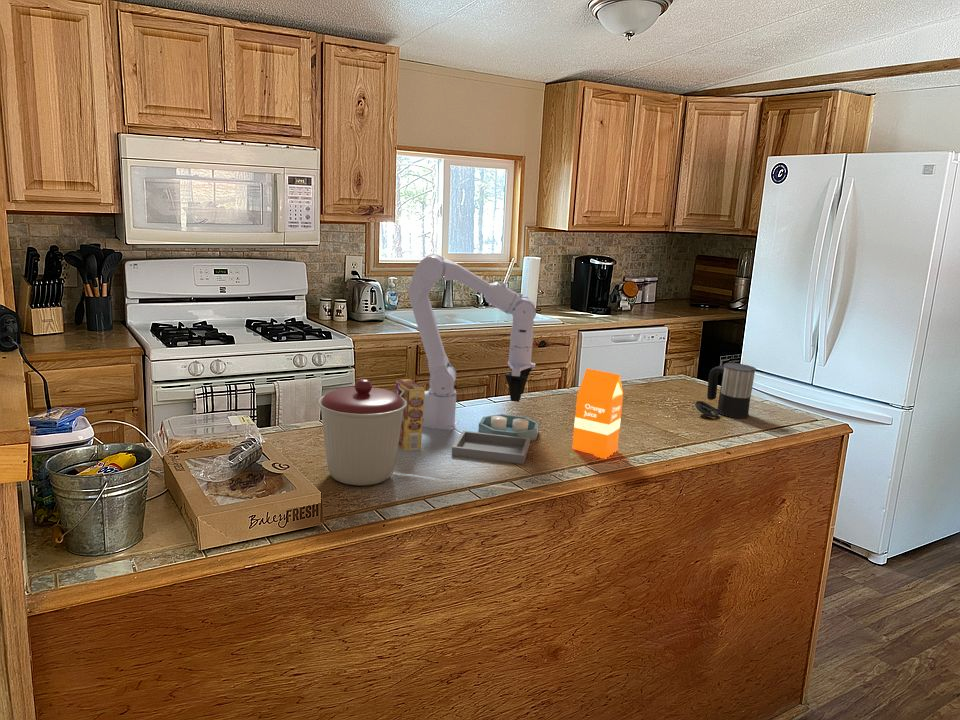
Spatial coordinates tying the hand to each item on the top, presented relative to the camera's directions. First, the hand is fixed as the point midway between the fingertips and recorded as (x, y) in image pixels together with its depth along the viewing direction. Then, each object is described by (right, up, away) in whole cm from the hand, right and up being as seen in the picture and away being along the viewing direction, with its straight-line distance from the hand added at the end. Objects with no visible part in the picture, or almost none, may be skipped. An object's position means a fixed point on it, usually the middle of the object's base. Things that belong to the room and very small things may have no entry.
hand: (517, 397), depth 189 cm
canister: (-35, -15, -35) cm, 51 cm away
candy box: (-27, -11, -14) cm, 32 cm away
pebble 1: (-5, -9, -1) cm, 10 cm away
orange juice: (+19, -13, -10) cm, 24 cm away
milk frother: (+62, -7, +29) cm, 69 cm away
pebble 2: (+1, -9, -2) cm, 9 cm away
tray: (-7, -12, -16) cm, 21 cm away
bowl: (-2, -9, -1) cm, 10 cm away
